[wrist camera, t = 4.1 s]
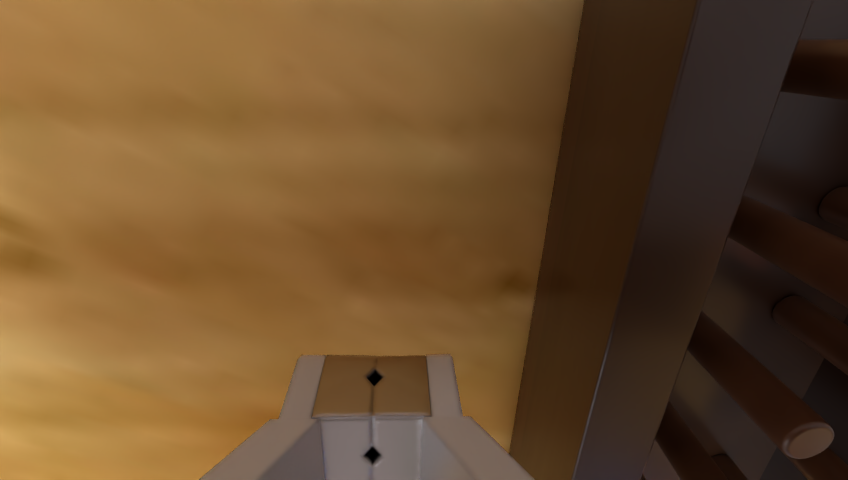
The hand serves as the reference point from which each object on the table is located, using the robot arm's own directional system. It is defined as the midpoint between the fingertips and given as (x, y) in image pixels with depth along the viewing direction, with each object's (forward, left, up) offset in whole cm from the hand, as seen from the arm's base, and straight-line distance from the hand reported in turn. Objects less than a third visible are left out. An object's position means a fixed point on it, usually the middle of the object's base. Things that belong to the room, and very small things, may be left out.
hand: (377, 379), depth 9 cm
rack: (-7, +6, -3) cm, 10 cm away
